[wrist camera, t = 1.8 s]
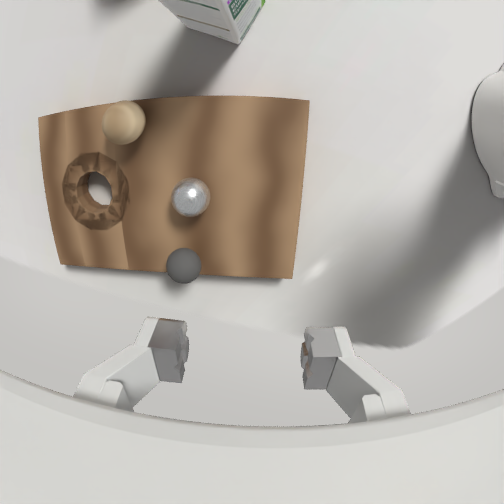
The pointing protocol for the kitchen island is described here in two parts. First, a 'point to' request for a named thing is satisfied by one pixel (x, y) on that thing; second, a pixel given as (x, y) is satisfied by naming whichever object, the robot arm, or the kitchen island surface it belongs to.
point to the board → (170, 173)
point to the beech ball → (123, 122)
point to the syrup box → (217, 16)
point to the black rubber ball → (183, 265)
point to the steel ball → (190, 197)
